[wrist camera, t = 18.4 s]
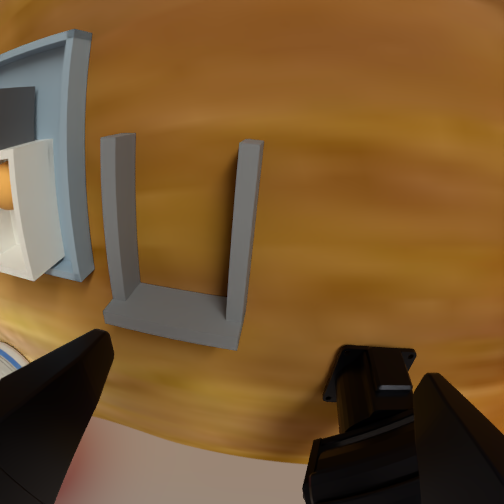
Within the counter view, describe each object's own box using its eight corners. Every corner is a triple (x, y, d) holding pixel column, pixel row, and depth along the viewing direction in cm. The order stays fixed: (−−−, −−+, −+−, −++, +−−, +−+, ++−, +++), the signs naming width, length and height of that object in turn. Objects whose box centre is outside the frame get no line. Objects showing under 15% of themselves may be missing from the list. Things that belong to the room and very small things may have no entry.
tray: (94, 269, 22) (81, 282, 20) (5, 249, 22) (-8, 259, 20) (92, 33, 14) (74, 28, 12) (-6, 64, 15) (-22, 64, 13)
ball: (25, 222, 17) (4, 189, 14) (-6, 217, 17) (-27, 186, 14) (46, 184, 19) (31, 150, 16) (14, 181, 19) (-1, 149, 16)
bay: (245, 311, 22) (236, 350, 18) (129, 291, 22) (105, 323, 18) (264, 140, 17) (257, 148, 13) (121, 133, 17) (85, 141, 14)
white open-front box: (65, 256, 21) (34, 281, 17) (17, 247, 21) (-12, 268, 18) (54, 82, 15) (13, 83, 12) (4, 95, 16) (-33, 101, 12)
